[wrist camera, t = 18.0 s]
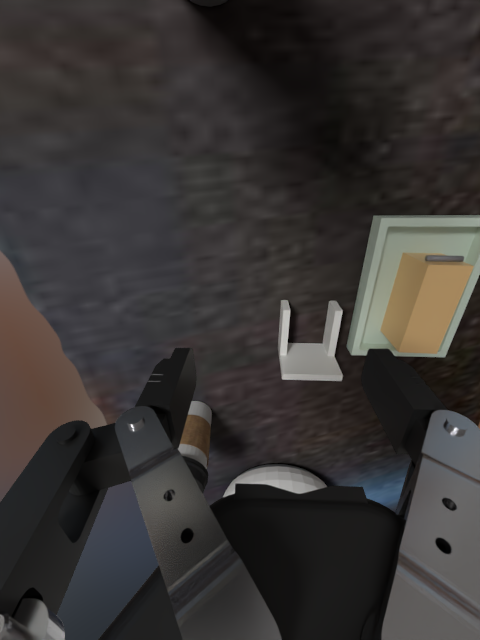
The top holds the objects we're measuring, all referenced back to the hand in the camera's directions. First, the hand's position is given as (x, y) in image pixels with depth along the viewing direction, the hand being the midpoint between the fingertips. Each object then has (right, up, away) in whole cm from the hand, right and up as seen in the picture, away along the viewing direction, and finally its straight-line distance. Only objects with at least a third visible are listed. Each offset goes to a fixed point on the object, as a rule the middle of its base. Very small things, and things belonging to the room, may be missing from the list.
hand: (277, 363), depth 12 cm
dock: (+9, +1, +30) cm, 31 cm away
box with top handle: (+23, +6, +26) cm, 35 cm away
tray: (+23, +6, +26) cm, 35 cm away
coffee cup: (-10, -16, +40) cm, 44 cm away
